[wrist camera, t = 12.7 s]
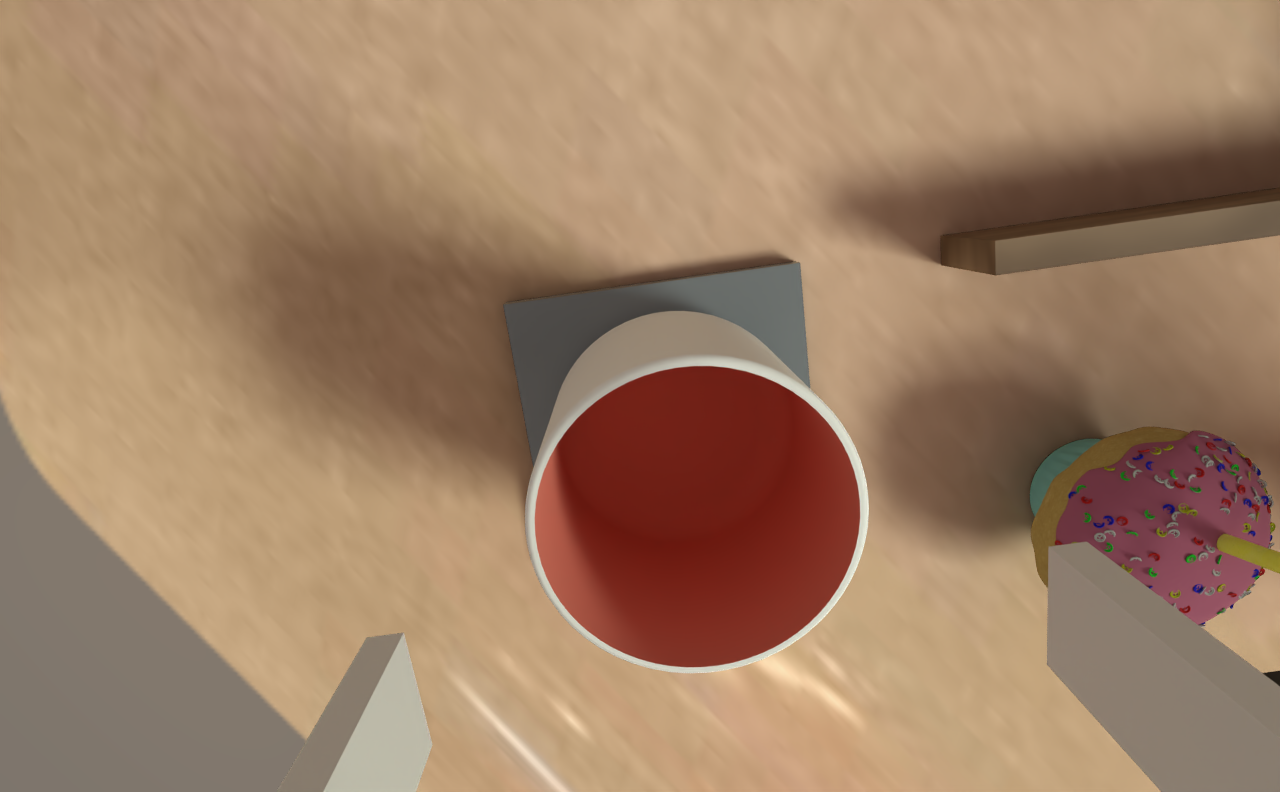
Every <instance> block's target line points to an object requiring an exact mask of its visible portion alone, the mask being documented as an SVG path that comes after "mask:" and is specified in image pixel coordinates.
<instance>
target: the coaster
mask: <svg viewBox="0 0 1280 792" xmlns="http://www.w3.org/2000/svg"><path fill="white" fill-rule="evenodd" d="M503 306H504V312H505V317H506V323H507V328H508V333H509V339H510V344H511V349H512V355H513V360H514V366H515V371H516V376H517V382H518V387H519V392H520V398H521V403H522V409H523V414H524V419H525V425H526V430H527V435H528V441H529V446H530V452H531V457H532V462H533V468H534V465H535V462H536V459H537V456H538V453H539V450H540V447H541V444H542V441H543V438H544V436H545V433H546V430H547V427H548V424H549V421H550V418H551V415H552V412H553V409H554V406H555V403H556V400H557V397H558V394H559V391H560V389H561V386H562V384H563V382H564V380H565V378H566V376H567V374H568V373H569V371H570V369H571V368H572V366H573V365H574V363H575V362H576V361H577V359H578V358H579V357H580V356H581V355H582V353H583V352H584V351H585V350H586V349H587V348H588V347H589V346H590V345H591V344H592V343H594V342H595V341H596V340H597V339H599V338H600V337H601V336H602V335H604V334H605V333H607V332H608V331H610V330H611V329H613V328H615V327H617V326H619V325H621V324H623V323H625V322H627V321H629V320H632V319H635V318H637V317H640V316H644V315H648V314H652V313H658V312H665V311H690V312H699V313H704V314H709V315H713V316H716V317H719V318H722V319H725V320H727V321H730V322H732V323H734V324H736V325H738V326H740V327H742V328H743V329H745V330H747V331H748V332H750V333H751V334H752V335H754V336H755V337H756V338H758V339H759V340H760V341H761V342H762V343H763V344H764V345H766V346H767V347H768V348H769V349H770V350H771V351H772V352H773V353H774V354H775V355H776V356H777V357H778V358H779V359H780V360H781V361H782V362H783V363H784V364H785V365H786V366H787V367H788V368H789V369H790V370H791V371H792V372H793V373H794V374H795V375H796V376H797V377H798V378H800V379H801V380H802V381H803V382H804V383H805V384H806V385H807V386H808V387H809V388H810V380H809V368H808V356H807V343H806V331H805V319H804V306H803V294H802V281H801V269H800V263H799V262H796V261H794V262H787V263H780V264H773V265H766V266H759V267H752V268H745V269H738V270H731V271H724V272H717V273H710V274H702V275H695V276H688V277H681V278H674V279H667V280H660V281H653V282H646V283H639V284H632V285H625V286H618V287H611V288H604V289H597V290H589V291H582V292H575V293H568V294H561V295H554V296H547V297H540V298H533V299H526V300H519V301H512V302H506V303H505V304H504V305H503Z"/></svg>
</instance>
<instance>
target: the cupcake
mask: <svg viewBox="0 0 1280 792" xmlns="http://www.w3.org/2000/svg"><path fill="white" fill-rule="evenodd" d="M1231 443H1232V444H1231ZM1235 445H1236V444H1235V443H1234V442H1231V441H1226V440H1224V439H1222V438H1220V437H1218V436H1215V435H1213V434H1210V433H1207V432H1203V431H1192V432H1190V433H1188V432H1184V431H1180V430H1175V429H1168V428H1160V427H1142V428H1137V429H1134V430H1131V431H1128V432H1124V433H1120V434H1116V435H1113V436H1110V437H1107V438H1104V439H1082V440H1077V441H1074V442H1071V443H1068V444H1066V445H1064V446H1062V447H1060V448H1058V449H1057V450H1055V451H1054V452H1053V453H1052V454H1050V455H1049V456H1048V457H1047V458H1046V459H1045V460H1044V461H1043V463H1042V464H1041V465H1040V467H1039V468H1038V470H1037V471H1036V473H1035V475H1034V478H1033V480H1032V484H1031V488H1030V504H1031V509H1032V512H1033V514H1034V516H1035V518H1034V521H1033V524H1032V527H1031V540H1032V544H1033V547H1034V552H1035V560H1036V566H1037V571H1038V574H1039V576H1040V578H1041V580H1042V581H1043V583H1044V584H1045V585H1046V587H1047V588H1048V548H1049V547H1050V546H1057V545H1065V544H1072V543H1080V542H1088V543H1089V544H1091V545H1092V546H1093V547H1095V548H1096V549H1097V550H1099V551H1100V552H1101V553H1103V554H1104V555H1105V556H1107V557H1108V558H1109V559H1111V560H1112V561H1113V562H1115V563H1116V564H1117V565H1119V566H1120V567H1121V568H1123V569H1124V570H1125V571H1127V572H1128V573H1129V574H1131V575H1132V576H1133V577H1135V578H1136V579H1137V580H1139V581H1140V582H1141V583H1143V584H1144V585H1145V586H1147V587H1148V588H1149V589H1151V590H1152V591H1153V592H1155V593H1156V594H1157V595H1159V596H1160V597H1161V598H1163V599H1164V600H1165V601H1167V602H1168V603H1169V604H1171V605H1172V606H1173V607H1175V608H1176V609H1177V610H1179V611H1180V612H1181V613H1183V614H1184V615H1185V616H1187V617H1188V618H1189V619H1191V620H1192V621H1193V622H1195V623H1196V624H1197V625H1199V626H1200V627H1205V625H1203V624H1205V622H1206V621H1208V620H1210V619H1212V618H1213V617H1215V616H1217V615H1218V614H1220V613H1224V612H1225V611H1226V609H1227V608H1228V607H1230V608H1231V609H1232V608H1233V605H1234V603H1235V602H1236V601H1238V600H1239V599H1241V598H1243V597H1244V596H1246V595H1248V594H1250V593H1251V590H1249V589H1250V588H1252V587H1254V586H1255V584H1253V583H1254V582H1255V580H1257V579H1258V578H1259V577H1260V576H1261V575H1263V574H1264V573H1265V570H1264V569H1263V567H1264V568H1267V569H1269V570H1272V571H1274V572H1277V573H1280V552H1277V551H1274V550H1271V549H1270V548H1271V546H1272V545H1274V543H1271V544H1270V543H1269V542H1270V541H1271V540H1272V535H1270V534H1271V532H1273V531H1274V530H1275V524H1274V523H1271V514H1270V513H1271V510H1270V507H1272V506H1273V500H1272V496H1271V495H1268V496H1267V495H1266V494H1268V493H1267V490H1266V489H1265V487H1266V486H1267V483H1266V482H1265V481H1264V480H1260V478H1259V477H1258V476H1259V475H1260V474H1261V472H1260V470H1259V469H1258V468H1257V466H1256V465H1255V464H1254V463H1251V461H1250V459H1249V458H1247V457H1246V458H1245V456H1244V455H1243V454H1242V453H1241V452H1240V451H1239V450H1238V449H1236V448H1235V447H1234V446H1235ZM1252 465H1253V466H1252ZM1257 471H1258V472H1257ZM1256 472H1257V473H1256ZM1262 484H1264V485H1262ZM1269 497H1270V498H1269ZM1270 501H1271V503H1270ZM1269 504H1270V505H1269ZM1272 526H1273V528H1272ZM1260 572H1262V573H1260Z"/></svg>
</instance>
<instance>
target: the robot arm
mask: <svg viewBox="0 0 1280 792" xmlns="http://www.w3.org/2000/svg"><path fill="white" fill-rule="evenodd" d="M1047 665H1048V666H1049V667H1050V668H1051V670H1052V671H1053V672H1054V673H1055V674H1056V675H1057V676H1058V677H1059V678H1060V680H1061V681H1062V682H1063V683H1064V684H1065V685H1066V686H1067V687H1068V688H1069V690H1070V691H1071V692H1072V693H1073V694H1074V695H1075V696H1076V697H1077V698H1078V700H1079V701H1080V702H1081V703H1082V704H1083V705H1084V706H1085V707H1086V708H1087V710H1088V711H1089V712H1090V713H1091V714H1092V715H1093V716H1094V717H1095V718H1096V720H1097V721H1098V722H1099V723H1100V724H1101V725H1102V726H1103V727H1104V729H1105V730H1106V731H1107V732H1108V733H1109V734H1110V735H1111V736H1112V737H1113V739H1114V740H1115V741H1116V742H1117V743H1118V744H1119V745H1120V746H1121V747H1122V749H1123V750H1124V751H1125V752H1126V753H1127V754H1128V755H1129V756H1130V757H1131V759H1132V760H1133V761H1134V762H1135V763H1136V764H1137V765H1138V766H1139V767H1140V769H1141V770H1142V771H1143V772H1144V773H1145V774H1146V775H1147V776H1148V777H1149V779H1150V780H1151V781H1152V782H1153V783H1154V784H1155V785H1156V786H1157V787H1158V789H1159V790H1160V791H1161V792H1280V671H1275V672H1267V673H1261V672H1260V671H1259V670H1257V669H1256V668H1255V667H1253V666H1252V665H1251V664H1249V663H1248V662H1247V661H1245V660H1244V659H1243V658H1241V657H1240V656H1239V655H1237V654H1236V653H1235V652H1233V651H1232V650H1231V649H1229V648H1228V647H1227V646H1225V645H1224V644H1223V643H1221V642H1220V641H1219V640H1217V639H1216V638H1215V637H1213V636H1212V635H1211V634H1209V633H1208V632H1207V631H1205V630H1204V629H1203V628H1201V627H1200V626H1199V625H1197V624H1196V623H1195V622H1193V621H1192V620H1191V619H1189V618H1188V617H1187V616H1185V615H1184V614H1183V613H1181V612H1180V611H1179V610H1177V609H1176V608H1175V607H1173V606H1172V605H1171V604H1169V603H1168V602H1167V601H1165V600H1164V599H1163V598H1161V597H1160V596H1159V595H1157V594H1156V593H1155V592H1153V591H1152V590H1151V589H1149V588H1148V587H1147V586H1145V585H1144V584H1143V583H1141V582H1140V581H1139V580H1137V579H1136V578H1135V577H1133V576H1132V575H1131V574H1129V573H1128V572H1127V571H1125V570H1124V569H1123V568H1121V567H1120V566H1119V565H1117V564H1116V563H1115V562H1113V561H1112V560H1111V559H1109V558H1108V557H1107V556H1105V555H1104V554H1103V553H1101V552H1100V551H1099V550H1097V549H1096V548H1095V547H1093V546H1092V545H1091V544H1089V543H1088V542H1080V543H1072V544H1065V545H1057V546H1050V547H1049V548H1048V623H1047ZM431 747H432V741H431V737H430V733H429V729H428V726H427V722H426V718H425V714H424V710H423V706H422V702H421V698H420V694H419V690H418V686H417V683H416V679H415V675H414V671H413V667H412V663H411V659H410V655H409V651H408V647H407V643H406V640H405V636H404V633H397V634H390V635H382V636H375V637H367V638H366V640H365V641H364V643H363V645H362V646H361V648H360V650H359V652H358V653H357V655H356V657H355V658H354V660H353V662H352V664H351V665H350V667H349V669H348V670H347V672H346V674H345V676H344V677H343V679H342V681H341V682H340V684H339V686H338V688H337V689H336V691H335V693H334V694H333V696H332V698H331V700H330V701H329V703H328V705H327V706H326V708H325V710H324V712H323V713H322V715H321V717H320V718H319V720H318V722H317V724H316V725H315V727H314V729H313V730H312V732H311V734H310V736H309V737H308V739H307V741H306V742H305V744H304V746H303V748H302V749H301V751H300V753H299V755H298V756H297V758H296V760H295V761H294V763H293V765H292V766H291V768H290V770H289V772H288V773H287V775H286V777H285V778H284V780H283V782H282V784H281V785H280V787H279V789H278V791H277V792H416V790H417V787H418V784H419V782H420V779H421V776H422V773H423V770H424V767H425V764H426V762H427V759H428V756H429V753H430V750H431Z"/></svg>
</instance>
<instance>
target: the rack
mask: <svg viewBox="0 0 1280 792" xmlns="http://www.w3.org/2000/svg"><path fill="white" fill-rule="evenodd" d="M1278 235H1280V188H1274V189H1267V190H1260V191H1253V192H1246V193H1239V194H1232V195H1225V196H1218V197H1211V198H1204V199H1197V200H1190V201H1183V202H1176V203H1169V204H1161V205H1154V206H1147V207H1140V208H1133V209H1126V210H1119V211H1112V212H1105V213H1098V214H1091V215H1084V216H1077V217H1070V218H1063V219H1056V220H1049V221H1041V222H1034V223H1027V224H1020V225H1013V226H1006V227H999V228H992V229H985V230H978V231H971V232H964V233H957V234H950V235H943V236H941V265H943V266H948V267H954V268H959V269H964V270H970V271H975V272H981V273H986V274H992V275H1001V274H1008V273H1015V272H1022V271H1030V270H1037V269H1044V268H1051V267H1058V266H1065V265H1072V264H1079V263H1086V262H1093V261H1100V260H1108V259H1115V258H1122V257H1129V256H1136V255H1143V254H1150V253H1157V252H1164V251H1171V250H1178V249H1185V248H1193V247H1200V246H1207V245H1214V244H1221V243H1228V242H1235V241H1242V240H1249V239H1256V238H1263V237H1270V236H1278Z"/></svg>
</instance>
